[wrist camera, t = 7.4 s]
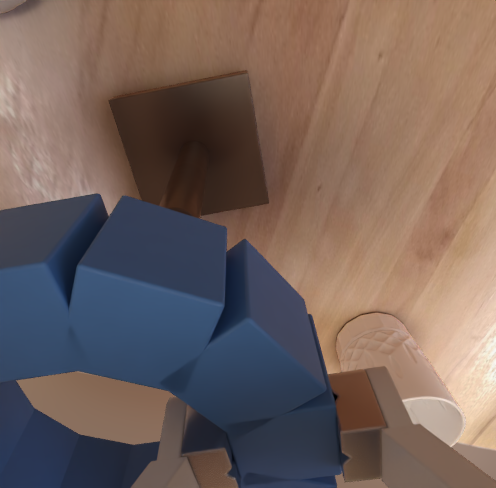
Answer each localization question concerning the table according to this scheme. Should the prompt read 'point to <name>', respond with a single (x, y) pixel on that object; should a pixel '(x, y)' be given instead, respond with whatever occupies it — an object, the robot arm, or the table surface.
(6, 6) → the donut
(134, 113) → the post
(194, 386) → the ring
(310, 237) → the table surface
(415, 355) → the white cup
